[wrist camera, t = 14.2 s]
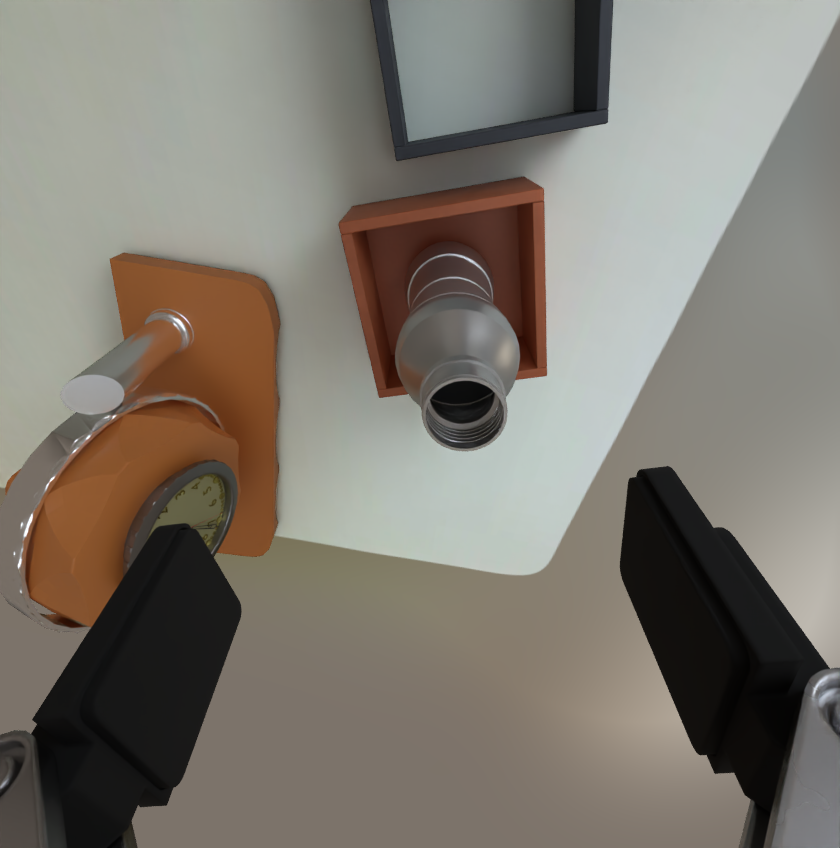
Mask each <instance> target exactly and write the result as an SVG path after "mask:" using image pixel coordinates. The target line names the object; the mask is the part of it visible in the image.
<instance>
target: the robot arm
mask: <svg viewBox="0 0 840 848" xmlns="http://www.w3.org/2000/svg"><path fill="white" fill-rule="evenodd" d="M620 572H621V576H622V580H623V582H624V585H625V587H626V590H627V592H628V594H629V597H630V599H631V601H632V604H633V606H634V609H635V611H636V613H637V616H638V618H639V620H640V623H641V625H642V628H643V630H644V632H645V635H646V637H647V640H648V642H649V644H650V646H651V649H652V651H653V654H654V656H655V659H656V661H657V663H658V666H659V668H660V670H661V673H662V675H663V678H664V680H665V682H666V685H667V687H668V689H669V692H670V694H671V696H672V699H673V701H674V704H675V706H676V708H677V711H678V713H679V716H680V718H681V720H682V723H683V725H684V727H685V730H686V732H687V734H688V737H689V739H690V741H691V744H692V746H693V748H694V749H695V751H696V752H697V753H698V754H699V755H707V757H708V759H709V761H710V764H711V766H712V768H713V771H714V773H715V774H718V773H735V775H736V777H737V780H738V782H739V784H740V786H741V788H742V790H743V792H744V794H745V795H746V796H747V797H748V798H750V799H751V801H750V805H749V809H748V813H747V817H746V821H745V824H744V829H743V833H742V836H741V840H740V845H739V848H840V668H832V669H830V668H829V667H828V665H827V664H826V663H825V661H824V660H823V658H822V657H821V656H820V655H819V653H818V652H817V650H816V649H815V648H814V646H813V645H812V643H811V642H810V641H809V639H808V638H807V636H806V635H805V634H804V632H803V631H802V629H801V628H800V627H799V625H798V624H797V623H796V621H795V620H794V618H793V617H792V616H791V614H790V613H789V612H788V610H787V609H786V607H785V606H784V605H783V603H782V602H781V601H780V599H779V598H778V597H777V595H776V594H775V592H774V591H773V589H772V588H771V587H770V585H769V584H768V583H767V581H766V580H765V578H764V577H763V576H762V574H761V573H760V572H759V570H758V569H757V567H756V566H755V565H754V563H753V562H752V561H751V559H750V558H749V556H748V555H747V554H746V552H745V551H744V549H743V548H742V547H741V545H740V544H739V543H738V541H737V540H736V539H735V537H734V536H733V535H732V534H731V533H730V532H729V531H728V530H726V529H724V528H719V527H718V528H713V527H712V525H711V523H710V522H709V521H708V519H707V518H706V516H705V515H704V513H703V512H702V510H701V509H700V508H699V506H698V505H697V503H696V502H695V501H694V499H693V497H692V496H691V495H690V493H689V492H688V490H687V489H686V487H685V486H684V485H683V483H682V481H681V480H680V479H679V477H678V476H677V474H676V473H675V471H674V470H673V469H672V468H671V467H669V466H666V467H658V468H649V469H641V470H639V471H638V473H637V476H636V477H634V478H630V479H629V482H628V489H627V500H626V510H625V520H624V528H623V539H622V548H621V558H620ZM240 618H241V604H240V601H239V600H238V598H237V596H236V595H235V593H234V591H233V589H232V588H231V586H230V584H229V583H228V581H227V579H226V578H225V576H224V574H223V573H222V571H221V569H220V567H219V566H218V564H217V562H216V561H215V559H214V557H213V556H212V554H211V552H210V550H209V549H208V547H207V545H206V544H205V542H204V540H203V539H202V537H201V535H200V534H199V532H198V531H197V530H196V529H192V528H191V527H190V525H188V524H186V523H180V524H172V525H163V526H159V527H157V528H156V529H155V530H154V531H153V532H152V534H151V535H150V537H149V538H148V540H147V541H146V543H145V545H144V546H143V548H142V549H141V551H140V552H139V554H138V555H137V557H136V559H135V560H134V562H133V563H132V565H131V566H130V568H129V570H128V571H127V573H126V574H125V576H124V577H123V579H122V580H121V582H120V584H119V585H118V587H117V588H116V590H115V591H114V593H113V594H112V596H111V598H110V599H109V601H108V602H107V604H106V605H105V607H104V608H103V610H102V612H101V613H100V615H99V616H98V618H97V619H96V621H95V623H94V624H93V626H92V627H91V629H90V630H89V632H88V633H87V635H86V637H85V638H84V640H83V641H82V643H81V644H80V646H79V648H78V649H77V651H76V652H75V654H74V655H73V657H72V658H71V660H70V662H69V663H68V665H67V666H66V668H65V669H64V671H63V673H62V674H61V676H60V677H59V679H58V680H57V682H56V683H55V685H54V686H53V688H52V690H51V691H50V693H49V694H48V696H47V697H46V699H45V700H44V702H43V704H42V705H41V707H40V708H39V710H38V711H37V713H36V714H35V716H34V718H33V719H32V720H33V721H34V722H36V723H37V725H36V727H35V729H34V730H33V732H32V733H31V734H30V733H28V732H27V731H15V730H14V731H11V732H8V733H4V734H1V735H0V848H137V843H136V839H135V834H134V830H133V826H132V818H133V816H134V813H135V811H136V808H137V806H138V805H139V806H140V807H148V806H164V805H165V806H166V805H167V803H168V801H169V798H170V795H171V792H172V790H173V787H176V786H177V785H178V784H179V783H180V781H181V780H182V778H183V775H184V773H185V771H186V768H187V765H188V762H189V759H190V757H191V754H192V751H193V749H194V746H195V743H196V740H197V737H198V734H199V732H200V729H201V726H202V723H203V721H204V718H205V715H206V712H207V709H208V707H209V704H210V701H211V699H212V696H213V693H214V690H215V687H216V685H217V682H218V679H219V676H220V674H221V671H222V668H223V665H224V662H225V660H226V657H227V654H228V651H229V649H230V646H231V643H232V640H233V637H234V635H235V632H236V629H237V626H238V623H239V621H240Z"/></svg>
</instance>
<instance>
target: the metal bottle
mask: <svg viewBox="0 0 840 848" xmlns="http://www.w3.org/2000/svg"><path fill="white" fill-rule="evenodd" d="M404 287H405V297H406V302H407V305H408V308H409V311H410V314H409V316H408V317H407V319H406V321H405V323H404V324H403V326H402V329H401V331H400V334H399V337H398V340H397V344H396V350H395V364H396V368H397V372H398V376H399V378H400V380H401V382H402V384H403V386H404V388H405V390H406V392H407V393H408V394H409V396H410V397H411V398H412V400H413V401H414V402H416V403H417V404H418V405H419V406H420V407H421V410H422V419H423V423H424V426H425V428H426V430H427V432H428V433H429V435H430V436H431V437H432V438H433V439H434V440H435V441H436V442H437V443H439V444H440V445H442V446H444V447H446V448H449V449H451V450H456V451H473V450H477V449H480V448H483V447H485V446H487V445H489V444H490V443H492V442H493V441H494V440H496V438H497V437H498V436H499V435H500V434H501V432H502V431H503V429H504V427H505V424H506V421H507V404H506V400H505V399H506V396H507V395H508V394H509V392H510V390H511V389H512V387H513V385H514V382H515V379H516V376H517V373H518V369H519V362H520V350H519V343H518V340H517V337H516V334H515V332H514V330H513V329H512V327H511V325H510V323H509V322H508V320H507V318H506V317H505V316H504V315H503V314H502V313H501V311H500V310H499V309H498V308H497V307H496V306H495V305H494V304H493V299H494V281H493V276H492V273H491V270H490V268H489V266H488V264H487V262H486V261H485V260H484V258H483V257H482V256H481V255H480V254H479V253H478V252H476V251H475V250H474V249H472V248H470V247H468V246H466V245H464V244H462V243H458V242H453V241H444V242H439V243H435V244H433V245H431V246H429V247H427V248H426V249H424V250H423V251H422V252H420V253H419V254H418V255H417V256H416V258H415V259H414V260H413V262H412V263H411V265H410V266H409V269H408V271H407V274H406V278H405V284H404Z"/></svg>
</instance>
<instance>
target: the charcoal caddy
mask: <svg viewBox="0 0 840 848" xmlns="http://www.w3.org/2000/svg"><path fill="white" fill-rule="evenodd" d="M370 3H371V9H372V15H373V21H374V27H375V34H376V40H377V46H378V52H379V58H380V64H381V71H382V77H383V83H384V89H385V95H386V101H387V108H388V114H389V120H390V126H391V132H392V139H393V145H394V151H395V157H396V161H400V160H405V159H411V158H417V157H422V156H428V155H433V154H439V153H444V152H450V151H456V150H461V149H467V148H472V147H478V146H483V145H489V144H494V143H500V142H506V141H511V140H517V139H522V138H528V137H533V136H539V135H545V134H550V133H556V132H561V131H567V130H572V129H578V128H583V127H589V126H595V125H600V124H606V123H607V122H608V109H607V108H608V102H609V81H610V59H611V38H612V16H613V0H575V50H574V112H570V113H565V114H559V115H554V116H548V117H543V118H538V119H532V120H527V121H521V122H516V123H510V124H505V125H499V126H494V127H488V128H483V129H478V130H472V131H467V132H461V133H456V134H450V135H445V136H439V137H434V138H428V139H423V140H417V141H412V142H408V137H407V130H406V123H405V116H404V110H403V103H402V96H401V89H400V82H399V76H398V69H397V62H396V55H395V48H394V42H393V35H392V28H391V21H390V14H389V8H388V1H387V0H370Z"/></svg>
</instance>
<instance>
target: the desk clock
mask: <svg viewBox="0 0 840 848" xmlns="http://www.w3.org/2000/svg"><path fill="white" fill-rule="evenodd" d="M110 264H111V269H112V275H113V280H114V286H115V291H116V297H117V302H118V308H119V313H120V319H121V324H122V330H123V335H124V341H123V342H122V343H120V344H119V345H118V346H116V347H115V348H113V349H112V350H111V351H109V352H108V353H107V354H105V355H104V356H103V357H101V358H100V359H99V360H97V361H96V362H95V363H93V364H92V365H91V366H89V367H88V368H86V369H85V370H84V371H82V372H81V373H80V374H78V375H77V376H76V377H74V378H73V379H72V380H70V381H69V382H68V383H66V385H65V386H64V387H63V388H62V390H61V400H62V402H63V403H64V404H65V406H67V407H68V408H69V409H71V410H73V411H75V412H76V413H75V414H73V415H72V416H71V417H70V418H68V419H67V420H66V421H65V422H63V423H62V424H61V425H60V426H58V427H57V428H56V429H55V430H54V431H52V432H51V433H50V434H49V436H48V437H47V438H46V439H45V440H44V441H43V442H42V443H41V444H40V445H39V446H38V448H37V449H36V450H35V451H34V452H33V453H32V454H31V455H30V457H29V458H28V460H27V461H26V462H25V464H24V465H23V467H22V468H21V469H20V470H19V471H17V472H16V473H15V474H14V475H12V477H11V478H10V479H9V480H8V482H7V485H6V488H5V489H6V496H5V499H4V501H3V503H2V506H1V507H0V592H1V594H2V595H3V597H4V598H5V599H6V601H7V602H8V603H9V604H10V605H11V606H13V607H14V608H16V609H17V610H19V611H20V612H22V613H23V614H24V615H26V616H27V617H29V618H30V619H32V620H33V621H35V622H37V623H38V624H40V625H41V626H43V627H44V628H47V629H51V630H55V631H57V632H61V631H62V632H75V633H79V632H81V631H84V630H90V629H91V627H92V626H93V624H94V623H95V621H96V619H97V618H98V616H99V615H100V613H101V612H102V610H103V608H104V607H105V605H106V604H107V602H108V601H109V599H110V598H111V596H112V594H113V593H114V591H115V590H116V588H117V587H118V585H119V584H120V582H121V580H122V579H123V577H124V576H125V574H126V573H127V571H128V570H129V568H130V566H131V565H132V563H133V562H134V560H135V559H136V557H137V555H138V554H139V552H140V551H141V549H142V548H143V546H144V545H145V543H146V541H147V540H148V538H149V537H150V535H151V534H152V532H153V531H154V530H155V529H156V528H157V527H159V526H163V525H172V524H180V523H186V524H188V525H190V527H191V528H192V529H196V530H197V531H198V532H199V534H200V535H201V537H202V539H203V540H204V542H205V544H206V545H207V547H208V549H209V550H210V552H211V554H212V556H213V557H214V556H215V554H216V553H224V554H232V555H240V556H251V557H257V556H262V555H264V553H266V552H267V550H269V548H270V545H271V542H272V539H273V537H274V534H275V531H276V528H277V525H278V522H277V519H276V510H275V503H276V487H277V479H278V473H279V465H278V463H277V459H276V427H277V417H278V410H279V396H278V392H277V384H276V355H277V342H278V334H279V328H280V320H279V316H278V312H277V307H276V303H275V299H274V296H273V294H272V293H271V291H270V289H269V288H268V286H267V284H266V282H264V281H263V280H261V279H259V278H258V277H256V276H254V275H250V274H246V273H241V272H235V271H230V270H224V269H218V268H212V267H206V266H200V265H194V264H188V263H182V262H176V261H170V260H164V259H158V258H152V257H146V256H140V255H134V254H128V253H122V254H120V255H118V256H115V257H113V258H111V259H110ZM30 598H31V599H32V600H34V601H36V602H37V603H39V604H41V605H42V606H44V607H45V608H47V609H49V610H51V611H52V612H54V613H56V614H51V615H45V614H40V613H39V612H38V611H37V609H36V608H35V606H34V605H33V603H32V602H31V600H30Z"/></svg>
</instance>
